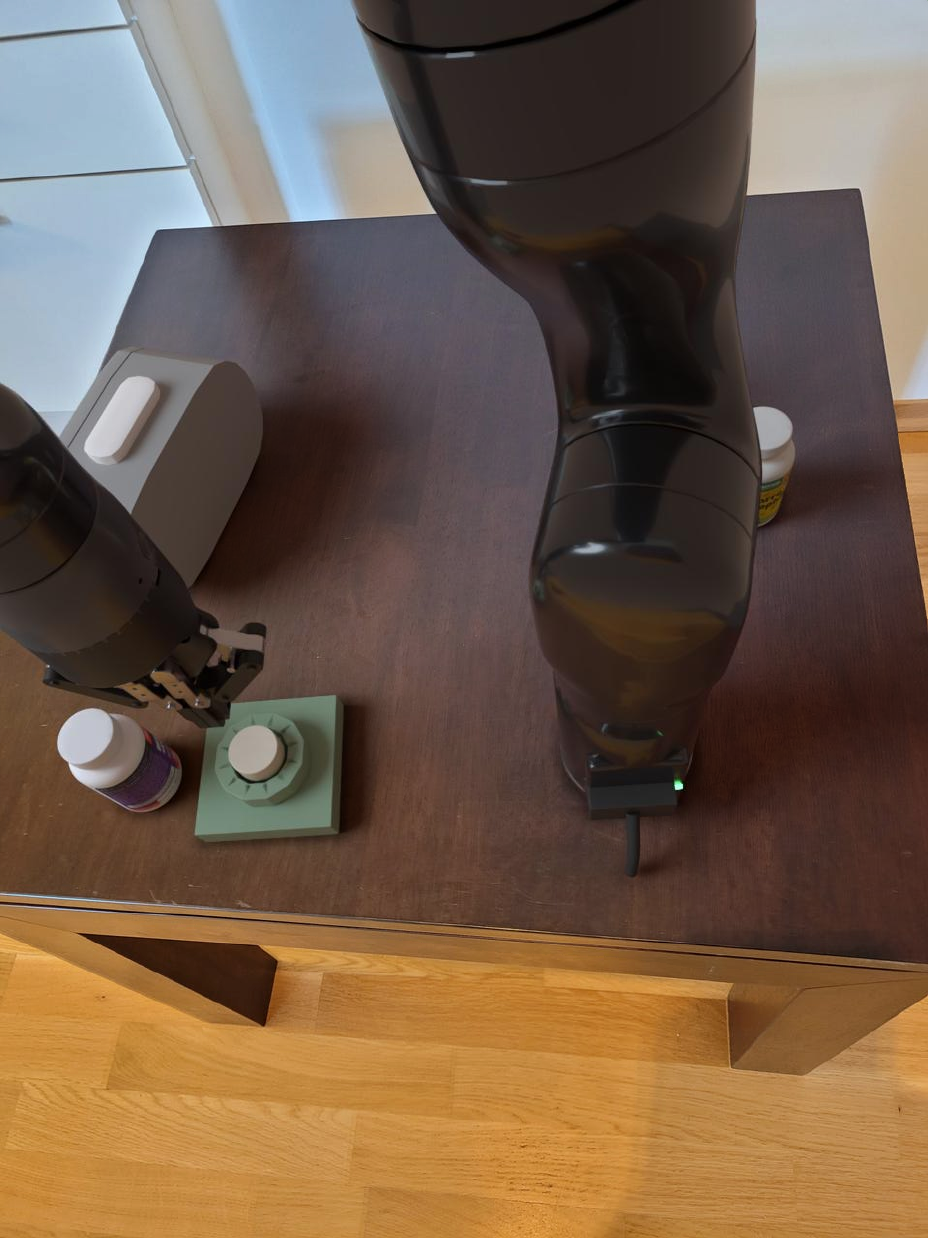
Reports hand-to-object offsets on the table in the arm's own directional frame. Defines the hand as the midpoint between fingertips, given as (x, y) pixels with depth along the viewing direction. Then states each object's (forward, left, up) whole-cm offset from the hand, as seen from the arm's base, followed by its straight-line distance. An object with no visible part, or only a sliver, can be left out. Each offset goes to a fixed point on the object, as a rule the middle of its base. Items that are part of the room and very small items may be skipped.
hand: (215, 713), depth 55 cm
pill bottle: (0, +10, -12) cm, 16 cm away
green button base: (0, 0, -12) cm, 12 cm away
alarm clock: (+25, +10, -12) cm, 29 cm away
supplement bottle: (+20, -38, -12) cm, 45 cm away
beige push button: (0, 0, -8) cm, 8 cm away
